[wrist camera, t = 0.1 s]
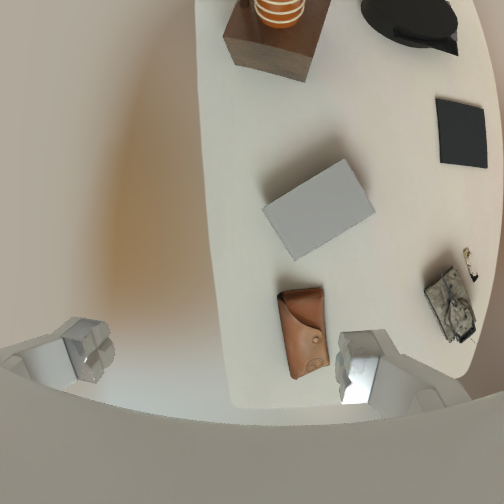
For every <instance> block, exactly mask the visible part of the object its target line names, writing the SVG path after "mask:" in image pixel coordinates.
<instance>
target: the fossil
mask: <svg viewBox="0 0 504 504" xmlns="http://www.w3.org/2000/svg"><path fill="white" fill-rule="evenodd" d="M464 256H465V261H466V263H467V259H468V257H470V256H471V253H470V252H469V250H468V249H466V250H465V251H464ZM468 260H469V259H468ZM467 266H468V270H469V268H470V267H471V265H470V266H469V265H467ZM469 273H470V270H469ZM472 274H473V273H472ZM472 274H471V273H470V275H471V278H472V279H473V282H475V281H476V279H477V278H478V275H477V276H473V275H472Z"/></svg>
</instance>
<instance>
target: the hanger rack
mask: <svg viewBox="0 0 504 504" xmlns="http://www.w3.org/2000/svg"><path fill="white" fill-rule="evenodd" d="M330 2H331V0H305V3H304V5H305V6H304V11H303V13H302V17H301V19H300V21H299V22H298V23H296V24H295V25H293V26H291V27H288V28H273V27H270V26H267V25H266V24H264V23H263V22H262V21H261V20H260V19H259V18H258V16H257V12H256V10H255V6H254V3H255V2H254V0H238V1H237V3H236V6H235V8H234V10H233V12H232V15H231V17H230V20H229V22H228V24H227V27H226V29H225V32H224V34H223V39H224V41H225V43H226V45H227V48H228V50H229V52H230V54H231V57H232V59H233V61H234V64H235V65H239V66H244V67H248V68H253V69H257V70H261V71H265V72H269V73H273V74H276V75H280V76H283V77H287V78H290V79H294V80H297V81H300V82H304V83H305V80H306V77H307V74H308V71H309V68H310V65H311V62H312V58H313V55H314V52H315V49H316V46H317V43H318V39H319V36H320V33H321V30H322V27H323V24H324V21H325V17H326V14H327V11H328V8H329V5H330Z"/></svg>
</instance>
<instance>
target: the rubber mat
mask: <svg viewBox="0 0 504 504" xmlns="http://www.w3.org/2000/svg"><path fill="white" fill-rule="evenodd" d="M436 106H437V116H438V127H439V142H440V163H447V164H456V165H464V166H472V167H480V168H488V163H487V140H486V127H485V117H484V109H481V108H477V107H473V106H469V105H465V104H461V103H456V102H452V101H447V100H442V99H436Z"/></svg>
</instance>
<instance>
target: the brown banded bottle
mask: <svg viewBox="0 0 504 504" xmlns="http://www.w3.org/2000/svg"><path fill="white" fill-rule="evenodd" d="M254 2H255V3H254V6H255V10H256V12H257V16H258V18H259V19H260V20H261V21H262V22H263V23H264V24H266V25H267V26H270V27H273V28H288V27H291V26H293V25H295V24H296V23H298V22H299V21H300V19H301V17H302V13H303V11H304V6H305V5H304V3H305V0H254Z"/></svg>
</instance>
